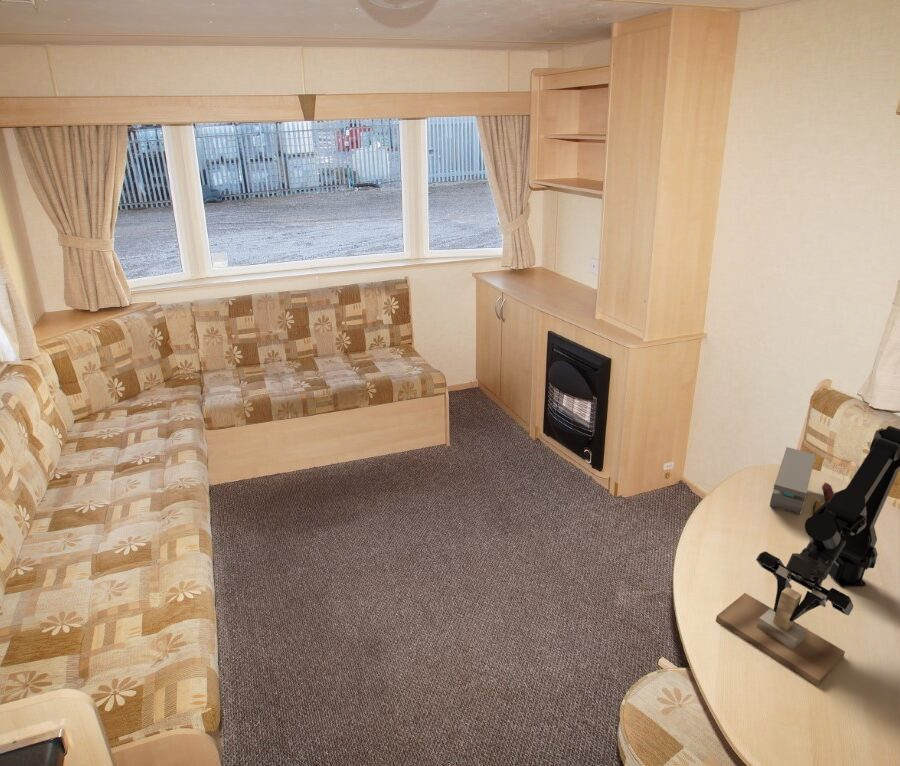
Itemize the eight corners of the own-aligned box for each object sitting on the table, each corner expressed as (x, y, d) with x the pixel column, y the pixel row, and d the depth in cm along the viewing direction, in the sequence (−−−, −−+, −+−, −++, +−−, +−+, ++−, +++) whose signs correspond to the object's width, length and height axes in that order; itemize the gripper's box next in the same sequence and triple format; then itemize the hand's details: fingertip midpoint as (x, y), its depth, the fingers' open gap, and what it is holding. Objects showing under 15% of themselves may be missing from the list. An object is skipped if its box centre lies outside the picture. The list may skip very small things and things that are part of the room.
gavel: (809, 472, 197) (846, 480, 194) (805, 486, 199) (842, 493, 195) (816, 504, 179) (857, 513, 175) (812, 519, 180) (853, 528, 177)
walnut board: (715, 620, 144) (716, 615, 143) (743, 597, 150) (744, 592, 150) (817, 686, 128) (819, 680, 127) (843, 656, 135) (845, 651, 134)
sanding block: (756, 626, 140) (767, 586, 136) (767, 617, 143) (778, 578, 138) (793, 649, 134) (805, 608, 130) (803, 640, 137) (816, 599, 132)
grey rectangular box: (796, 527, 176) (806, 493, 172) (765, 517, 180) (774, 484, 176) (806, 485, 196) (815, 454, 191) (778, 477, 200) (786, 447, 195)
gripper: (770, 519, 139) (731, 581, 137) (863, 566, 125) (821, 635, 123) (780, 536, 146) (744, 595, 144) (869, 582, 133) (830, 647, 131)
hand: (782, 616), depth 135 cm, fingers closed on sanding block, 3 cm apart
